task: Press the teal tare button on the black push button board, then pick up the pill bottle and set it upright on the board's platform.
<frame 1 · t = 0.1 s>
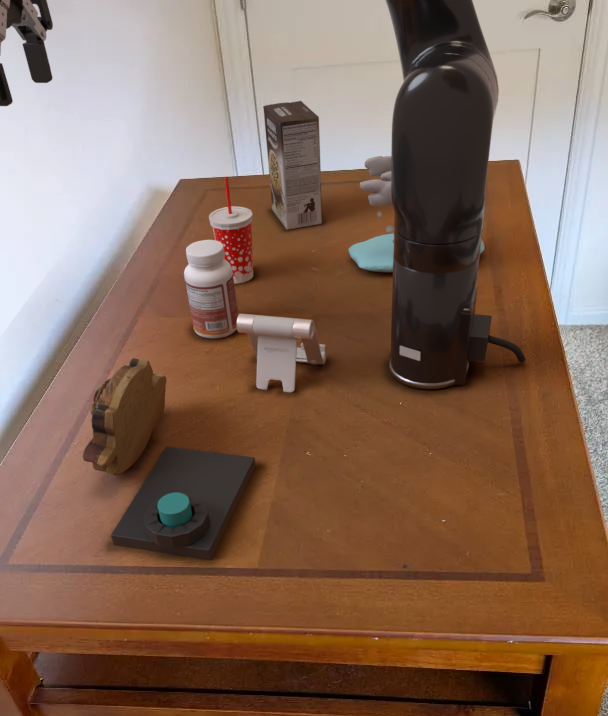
hand: (23, 93, 82), 29 cm above the table, tool pointing down, fingers open, 8 cm apart
pill bottle: (216, 329, 103), on the table
coffee box: (296, 218, 128), on the table
tare button: (174, 509, 72), point 4 cm above the table, slide at 0.1 cm
tablet stand: (284, 374, 94), on the table
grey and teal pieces: (416, 261, 114), on the table
wooden carving: (134, 452, 85), on the table
beverage cup: (238, 277, 113), on the table
black push button board: (188, 504, 78), on the table
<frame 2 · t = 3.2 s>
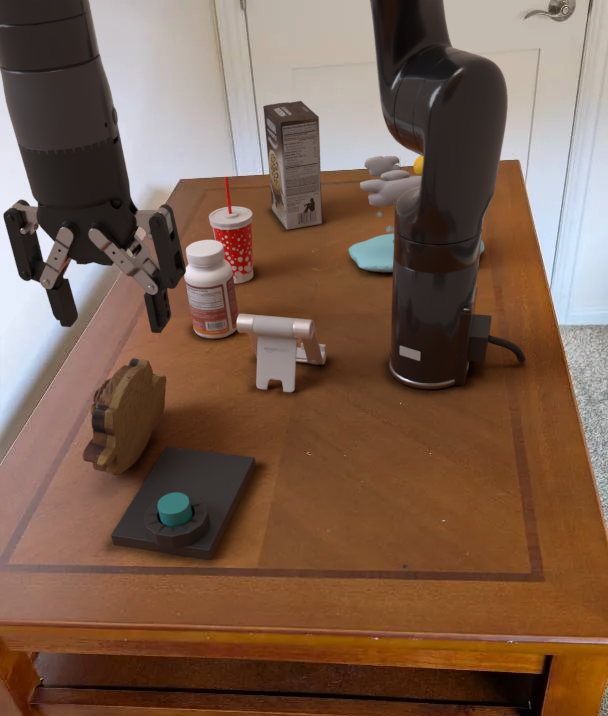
hand: (114, 325, 69), 18 cm above the table, tool pointing down, fingers open, 8 cm apart
nothing on the table moved.
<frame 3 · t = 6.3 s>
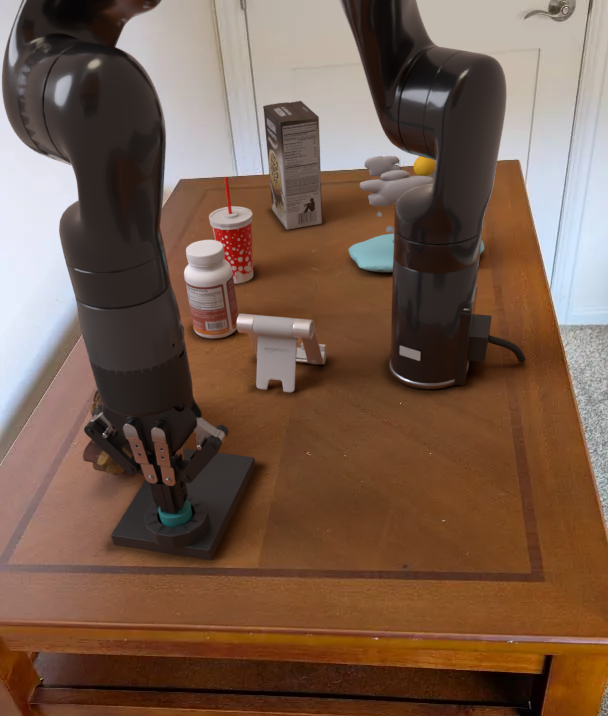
hand: (173, 507, 72), 4 cm above the table, tool pointing down, fingers closed
tare button: (175, 513, 72), point 3 cm above the table, slide at -0.4 cm, touching gripper
everything else where it was.
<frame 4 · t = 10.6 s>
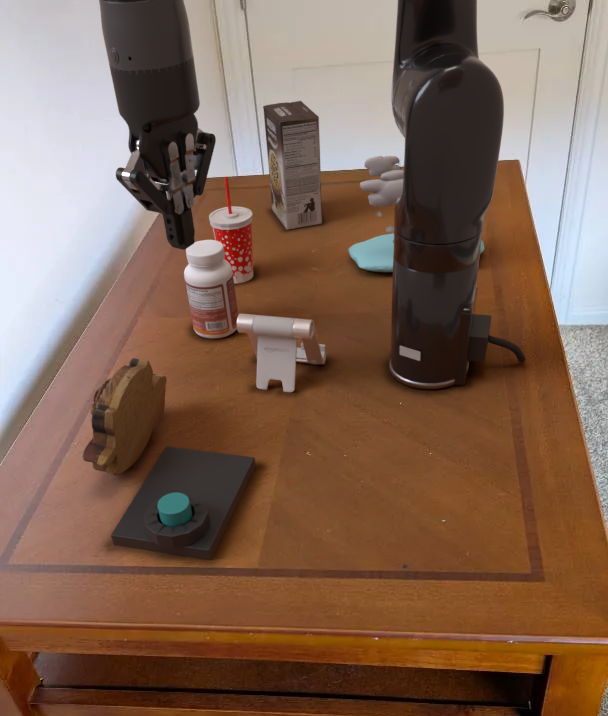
hand: (183, 245, 80), 17 cm above the table, tool pointing down, fingers closed
tare button: (174, 509, 72), point 4 cm above the table, slide at 0.1 cm
everything else where it was.
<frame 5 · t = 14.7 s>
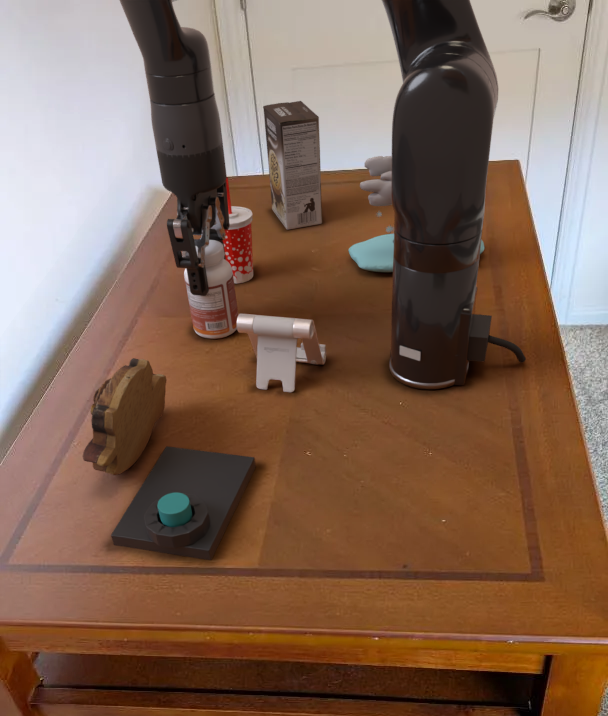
hand: (209, 281, 98), 7 cm above the table, tool pointing down, fingers closed on pill bottle, 6 cm apart
pill bottle: (216, 329, 103), on the table, touching gripper
everything else where it was.
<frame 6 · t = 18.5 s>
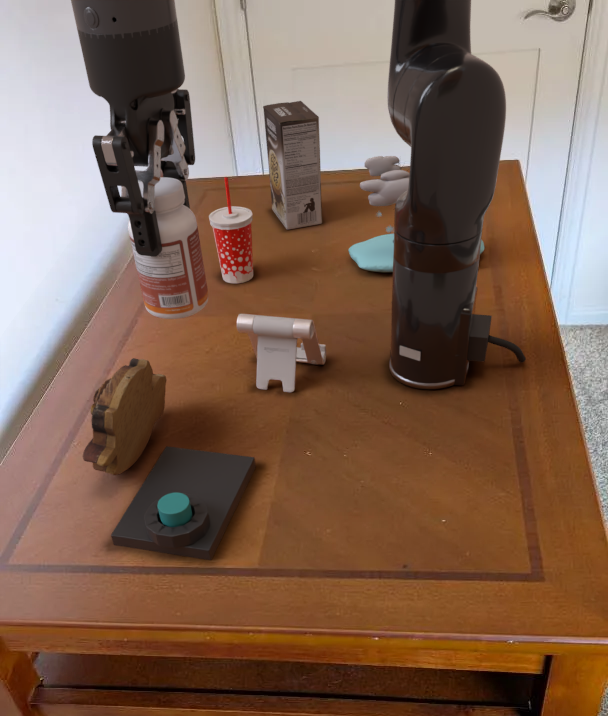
hand: (165, 237, 69), 23 cm above the table, tool pointing down, fingers closed on pill bottle, 6 cm apart
pill bottle: (177, 307, 74), point 16 cm above the table, touching gripper
everything else where it was.
when the fingers open (8 cm above the table, at t = 22.6 s): pill bottle stays where it is, resting on black push button board.
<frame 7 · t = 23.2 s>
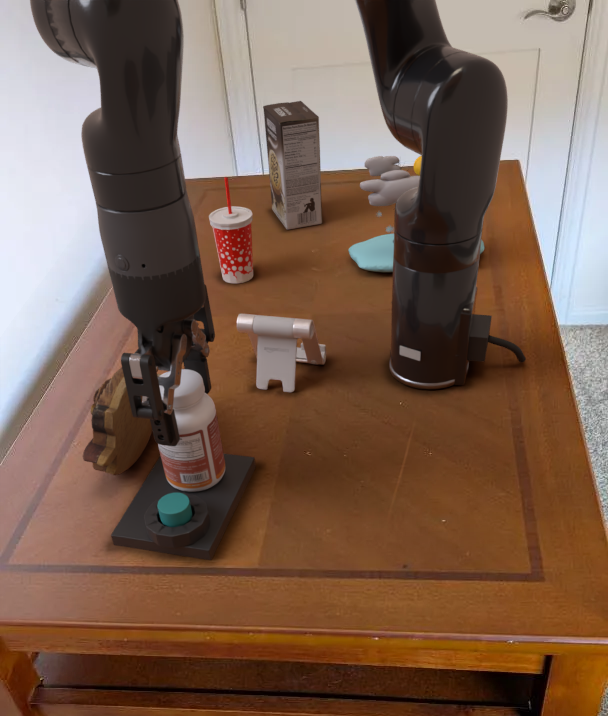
hand: (185, 416, 74), 9 cm above the table, tool pointing down, fingers open, 8 cm apart
pill bottle: (196, 476, 79), point 1 cm above the table, touching black push button board
everything else where it was.
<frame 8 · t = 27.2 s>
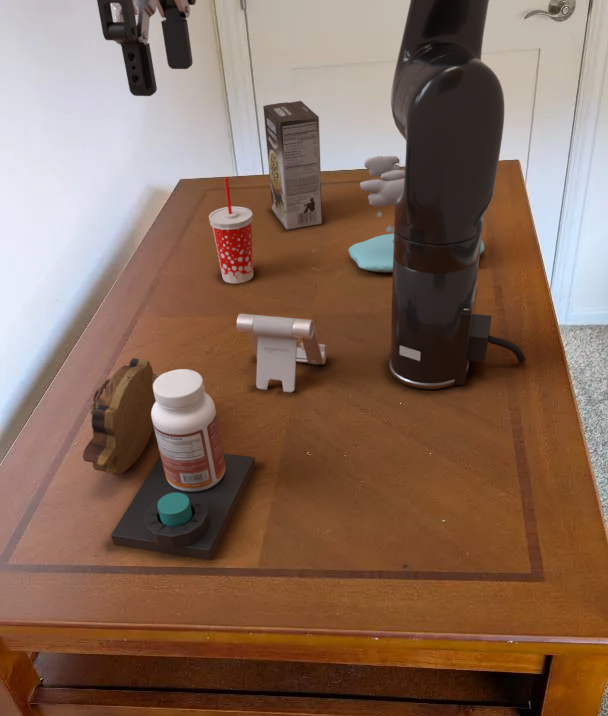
hand: (163, 80, 68), 33 cm above the table, tool pointing down, fingers open, 8 cm apart
nothing on the table moved.
at the end: tare button pushed in 0.9 cm at the most during the clip, back to where it started at the end; pill bottle inside the target area on the black push button board (0.4 cm from its centre), point 1.2 cm above the black push button board's base; pill bottle touching black push button board; pill bottle tilted 0° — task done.
